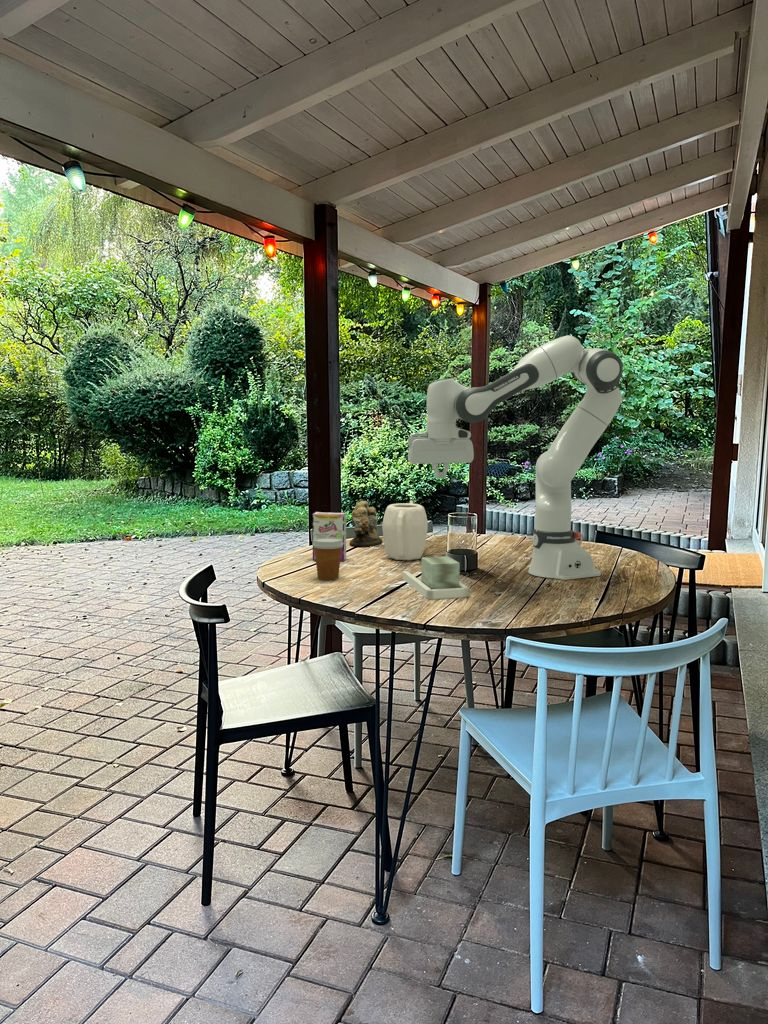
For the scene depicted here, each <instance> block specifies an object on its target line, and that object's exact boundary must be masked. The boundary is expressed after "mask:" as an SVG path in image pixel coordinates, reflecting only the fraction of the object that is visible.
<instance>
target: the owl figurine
mask: <svg viewBox="0 0 768 1024" xmlns="http://www.w3.org/2000/svg"><path fill="white" fill-rule="evenodd" d="M351 519H352V520H351V522H352V525H354V529H353V532H354V533H355V536H354V537H353V538H352V539H351V540H350V541H349V545H350V546H351V547H360V548H361V547H362V548H371V547H370V546H373V547H376V546H377V545H378V546H380V545H382V544H383V539H382V538H381V537H380V535H379V526H378V514H377V510H376V508H375V507H374V506H369V502H368V501H366V500H361V501H359V502H357V503H356V504H355V506H354V509H353V510H352V511H351ZM381 543H382V544H381ZM379 544H380V545H379Z"/></svg>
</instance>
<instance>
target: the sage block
mask: <svg viewBox="0 0 768 1024" xmlns="http://www.w3.org/2000/svg"><path fill="white" fill-rule="evenodd" d="M460 565H461V564H460V562H459V561H457V560H455V559H453V558H452V557H450V556H448V555H446V556H426V557H425V556H424V557H423V556H421V577H420V578H421V580H420V581H421V582H422V583H424V584H425V585H426V586H427V587H429V588H430V589H449V588H459V582H460V567H461V566H460Z"/></svg>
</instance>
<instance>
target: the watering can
mask: <svg viewBox="0 0 768 1024" xmlns="http://www.w3.org/2000/svg"><path fill="white" fill-rule="evenodd" d="M428 526H429V524H428V517H427V513H426V509H425V507H424V506H423V505H421V504H418V503H414V501H413V500H412V499H411V500H409V502H408V503H402V502H401V503H391V504H389V505H387V507H386V508H385V511H384V515H383V520H382V527H381V528H382V536H383V542H384V543H383V544H384V548H385V551H386V556H387V558H389V559H392V560H396V561H412V560H419V559H422V557H423V553H424V550H425V547H426V542H427V538H428V537H427V535H428Z"/></svg>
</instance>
